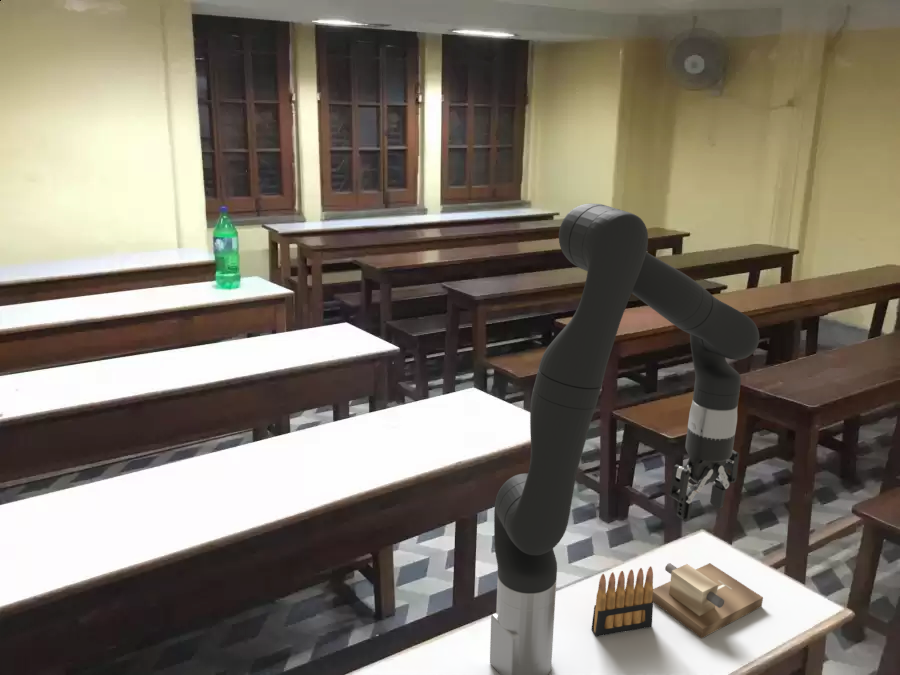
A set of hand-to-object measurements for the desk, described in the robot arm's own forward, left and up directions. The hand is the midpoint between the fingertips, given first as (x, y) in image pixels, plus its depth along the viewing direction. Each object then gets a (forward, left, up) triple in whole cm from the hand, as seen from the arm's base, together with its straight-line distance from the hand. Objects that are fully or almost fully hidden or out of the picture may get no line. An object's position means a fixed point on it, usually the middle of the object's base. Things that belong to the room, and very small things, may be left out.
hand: (700, 512), depth 127 cm
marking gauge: (0, -1, -18) cm, 18 cm away
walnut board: (+4, -1, -20) cm, 20 cm away
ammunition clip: (-14, +2, -20) cm, 25 cm away
